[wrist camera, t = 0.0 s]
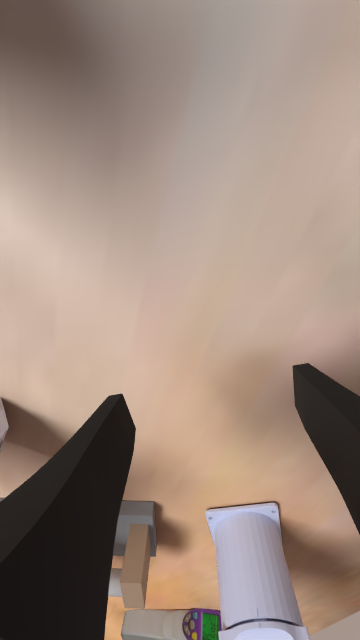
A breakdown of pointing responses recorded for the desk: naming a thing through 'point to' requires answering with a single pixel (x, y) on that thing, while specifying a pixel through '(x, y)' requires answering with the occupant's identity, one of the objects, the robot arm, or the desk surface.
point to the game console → (2, 424)
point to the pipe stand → (133, 552)
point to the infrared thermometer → (171, 624)
